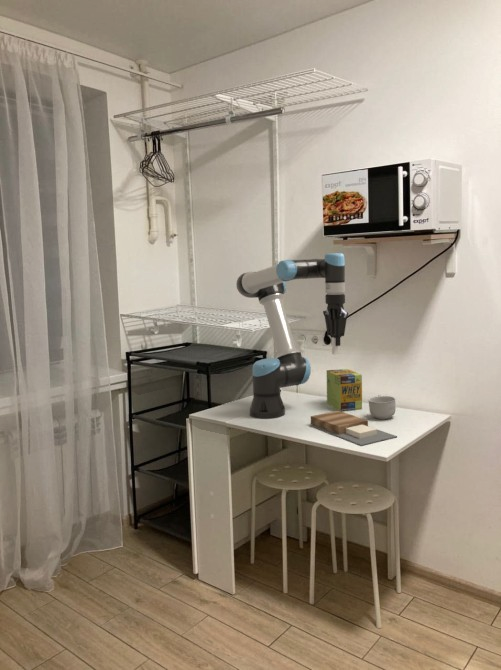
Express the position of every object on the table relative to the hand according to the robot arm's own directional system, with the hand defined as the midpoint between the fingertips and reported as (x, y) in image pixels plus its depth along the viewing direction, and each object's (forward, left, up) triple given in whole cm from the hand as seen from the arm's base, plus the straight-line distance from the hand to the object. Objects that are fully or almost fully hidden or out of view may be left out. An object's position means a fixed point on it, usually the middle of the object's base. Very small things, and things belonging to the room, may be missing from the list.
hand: (336, 353), depth 226 cm
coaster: (+16, -2, -28) cm, 32 cm away
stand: (+3, -2, -28) cm, 29 cm away
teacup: (+2, +22, -29) cm, 36 cm away
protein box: (-20, +20, -29) cm, 40 cm away
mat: (+11, -2, -28) cm, 30 cm away
